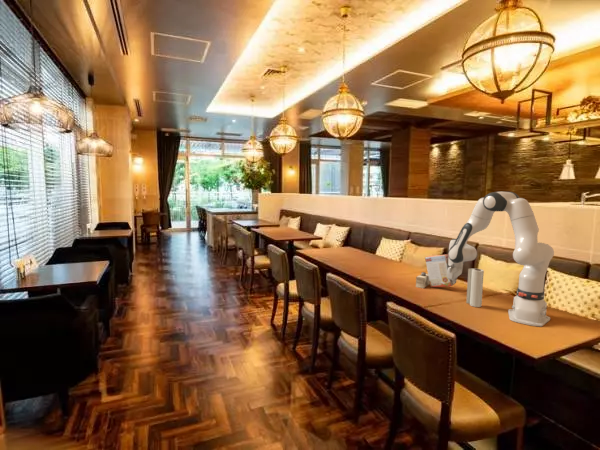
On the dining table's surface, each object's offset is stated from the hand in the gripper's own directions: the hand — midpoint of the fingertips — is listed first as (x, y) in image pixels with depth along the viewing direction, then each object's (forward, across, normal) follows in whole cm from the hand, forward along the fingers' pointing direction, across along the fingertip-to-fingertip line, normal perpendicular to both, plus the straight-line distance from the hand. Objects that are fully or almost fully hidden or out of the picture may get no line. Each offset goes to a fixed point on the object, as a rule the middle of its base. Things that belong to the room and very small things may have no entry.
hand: (454, 283), depth 227 cm
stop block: (+5, -2, +20) cm, 20 cm away
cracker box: (+4, 0, +7) cm, 8 cm away
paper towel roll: (+5, -22, -18) cm, 29 cm away
